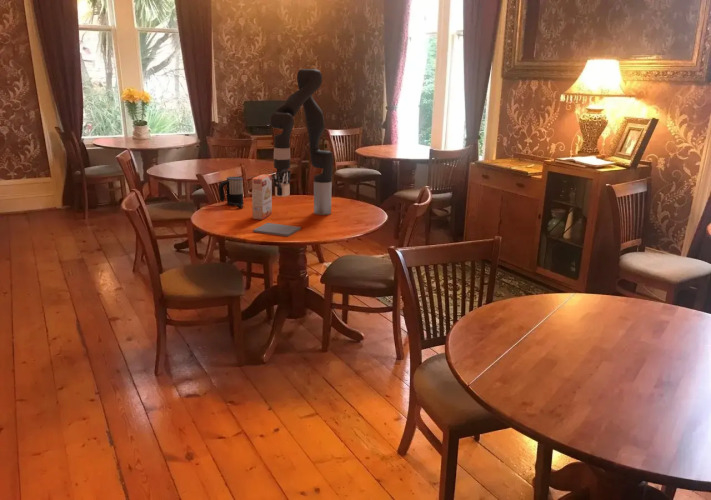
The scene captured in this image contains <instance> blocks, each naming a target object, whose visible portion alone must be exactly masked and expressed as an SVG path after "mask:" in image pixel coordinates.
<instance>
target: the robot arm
mask: <svg viewBox="0 0 711 500" xmlns="http://www.w3.org/2000/svg"><path fill="white" fill-rule="evenodd" d="M296 80H297V87H298V90H296V91H295V92H293V93H291V94H290V95H289V96H288V97H287V99H286V100H285V102H284V103H283V104H282V105H281V106H279V107H278V108H277V109H276V110H274V111H272V113H271V115H270V117H269V124H270V126H271V128H274V129H278V130H279V129H280V130H281V129H282V131H281V133H278V134H275V135H274V137H273V144H274V145H273V147H274V149H273V168H274V169H276V171H275V172H276V173H275V174H272V178H273V179H272V180H273V185H274V188H275V187H277V195H278V196H277V197H282V196H281V195H282V184H291V183H290V182H291V173H292V171H291V170H289V169H291V146H290V145H291V141H290V140H291V137H292V135H291V134H292V131H293V127H294V121H295V119H294V117H295V116H296V115H297V113H298V111H300V109H301V107H302V108H303V112H304V119H305V125H306V130H307V136H308V143H309V156H310V163H311V165H312V167H314V168H316V169H322V172H321V173H319V174H316V175H314V177H313V214H314V215H318V216H319V215H320V216H326V215H327V216H328V215H330V214H332V180H333V179H332V178H333V173H334V154H333V151H330V150H323V149H320V143H319V142H320V139H321V136H322V135H323V133H324V131H325V127H326V125H325V124H326V123H325V117H324V113H323V111H322V109H321V107H320V106H319V105H318V104H317V102H316V101H315V100H314V97H313V96H312V95H314V93H316V92H317V91H318V89H320V88H321V86H322V83H323V75H322V72H321V71H320V69H315V68H312V69H311V68H302V69H299V70H298V71H297V74H296Z"/></svg>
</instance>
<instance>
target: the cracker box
mask: <svg viewBox="0 0 711 500" xmlns="http://www.w3.org/2000/svg"><path fill="white" fill-rule="evenodd" d="M272 178H273V174H264V173H263V174H260V175H258V176H255V177H253V178H251V198H252V200H251V202H252V203H251V204H252V205H251V207H252V208H251V210H252V219H253V220H261V221H262V220H264V219H266V218H267V217H269V216H270V215H272V214H273V212H272V210H273V204H272V203H273V200H272V199H273V198H272V197H273V196H272V195H273V192H272V190H273V187H272V186H273V185H272V184H273V182H272V180H273V179H272Z"/></svg>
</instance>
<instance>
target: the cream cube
mask: <svg viewBox="0 0 711 500" xmlns="http://www.w3.org/2000/svg"><path fill="white" fill-rule="evenodd" d="M290 184H291V183H288V184H282V195H281V196H280V197H284V198H286V197H288V196H289V195H290V193H291V192H290V191H291V190H290V189H291V187H290V186H291V185H290ZM274 194H275V195H274V196H275V197H279V196H278V195H277V187H275V186H274Z"/></svg>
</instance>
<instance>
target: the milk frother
mask: <svg viewBox="0 0 711 500" xmlns="http://www.w3.org/2000/svg"><path fill="white" fill-rule="evenodd" d="M225 179H226V180H223V181H221V182H220V183H219V184H218V194H219V201H221V202H224V201H225V192H224V191H225V190H224V187H225V186H226V204H227V205H228V206H235V207H237V208H239V209H241V208H244V204H245V202H244V187H243V185H244V184H243V181H244V180H243V179H244V177H242V176H228V177H226V178H225Z"/></svg>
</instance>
